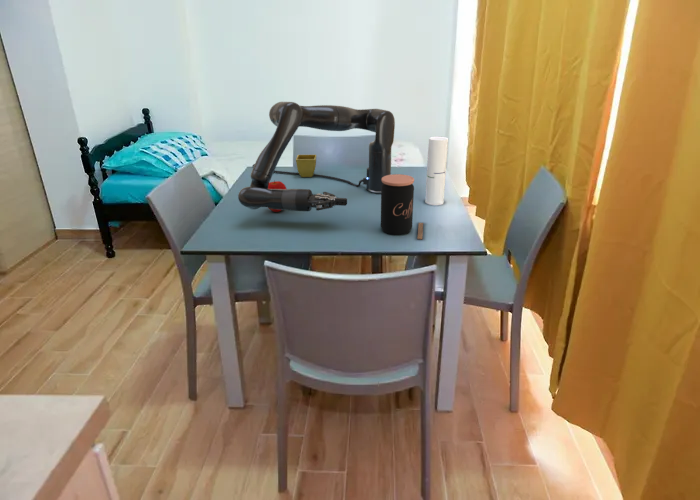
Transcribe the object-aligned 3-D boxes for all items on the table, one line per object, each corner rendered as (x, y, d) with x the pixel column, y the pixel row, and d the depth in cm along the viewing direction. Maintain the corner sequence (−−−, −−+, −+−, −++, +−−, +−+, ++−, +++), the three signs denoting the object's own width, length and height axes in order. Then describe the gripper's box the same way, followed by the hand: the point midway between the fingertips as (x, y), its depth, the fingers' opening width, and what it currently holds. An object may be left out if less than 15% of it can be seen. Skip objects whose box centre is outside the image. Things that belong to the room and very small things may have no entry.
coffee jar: (392, 238, 160) (394, 185, 152) (374, 228, 168) (375, 177, 161) (418, 231, 165) (421, 179, 157) (399, 221, 173) (401, 172, 166)
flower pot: (315, 178, 224) (315, 159, 220) (296, 178, 224) (295, 159, 220) (317, 173, 232) (316, 154, 228) (298, 173, 232) (297, 154, 228)
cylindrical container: (443, 205, 188) (448, 140, 178) (424, 204, 190) (428, 140, 179) (443, 199, 195) (448, 136, 184) (425, 198, 196) (429, 136, 185)
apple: (279, 204, 191) (276, 175, 186) (293, 210, 185) (291, 179, 180) (259, 210, 185) (256, 180, 180) (273, 216, 180) (271, 185, 174)
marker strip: (417, 239, 159) (417, 238, 159) (418, 223, 171) (418, 222, 171) (422, 239, 159) (422, 238, 159) (423, 223, 171) (423, 222, 171)
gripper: (291, 195, 160) (343, 197, 157) (301, 183, 172) (349, 185, 169) (292, 217, 163) (343, 219, 161) (302, 203, 175) (350, 205, 172)
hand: (346, 201), depth 165 cm, fingers closed
